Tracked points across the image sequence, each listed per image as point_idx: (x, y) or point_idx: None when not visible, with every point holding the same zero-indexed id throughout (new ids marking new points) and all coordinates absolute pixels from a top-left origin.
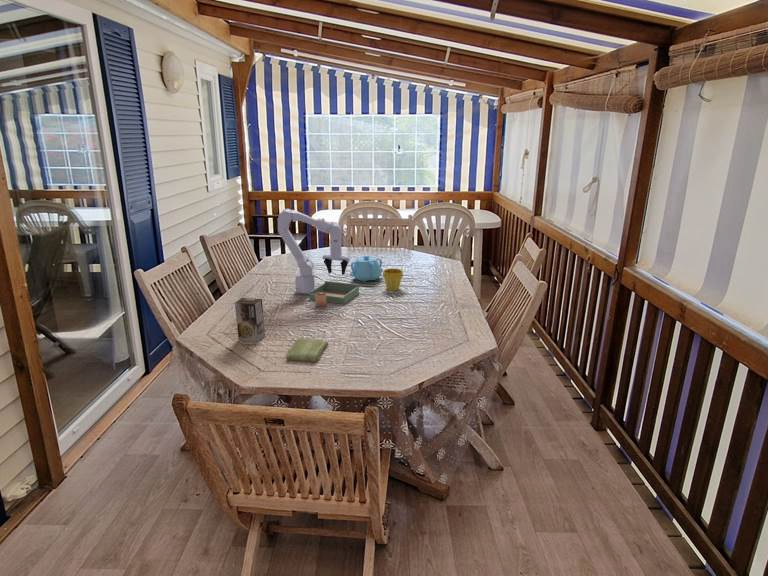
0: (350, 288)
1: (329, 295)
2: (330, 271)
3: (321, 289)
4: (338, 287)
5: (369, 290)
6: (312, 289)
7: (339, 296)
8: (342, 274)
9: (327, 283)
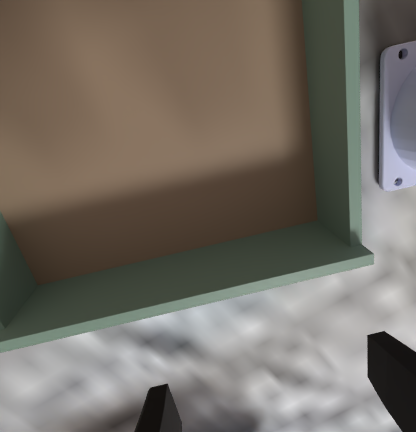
0: (88, 294)
1: (202, 115)
2: (383, 377)
3: (326, 144)
4: (208, 263)
5: (36, 383)
6: (410, 102)
7: (104, 144)
8: (156, 391)
9: (330, 250)
